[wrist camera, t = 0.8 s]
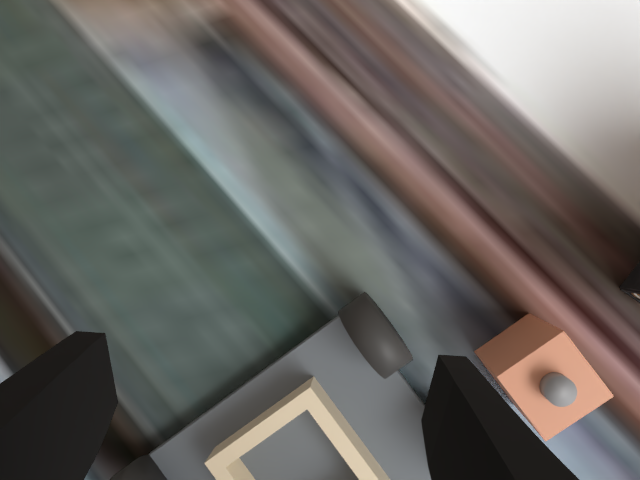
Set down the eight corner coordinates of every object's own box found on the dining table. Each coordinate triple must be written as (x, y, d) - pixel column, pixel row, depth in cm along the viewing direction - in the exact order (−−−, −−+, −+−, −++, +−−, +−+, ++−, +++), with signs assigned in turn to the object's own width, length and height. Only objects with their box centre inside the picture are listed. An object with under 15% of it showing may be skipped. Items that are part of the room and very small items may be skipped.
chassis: (489, 454, 29) (516, 501, 24) (246, 616, 31) (224, 691, 26) (363, 287, 30) (364, 299, 25) (131, 457, 32) (88, 500, 27)
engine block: (570, 366, 29) (622, 402, 23) (514, 404, 29) (551, 448, 23) (528, 312, 29) (570, 334, 23) (473, 351, 29) (501, 382, 23)
